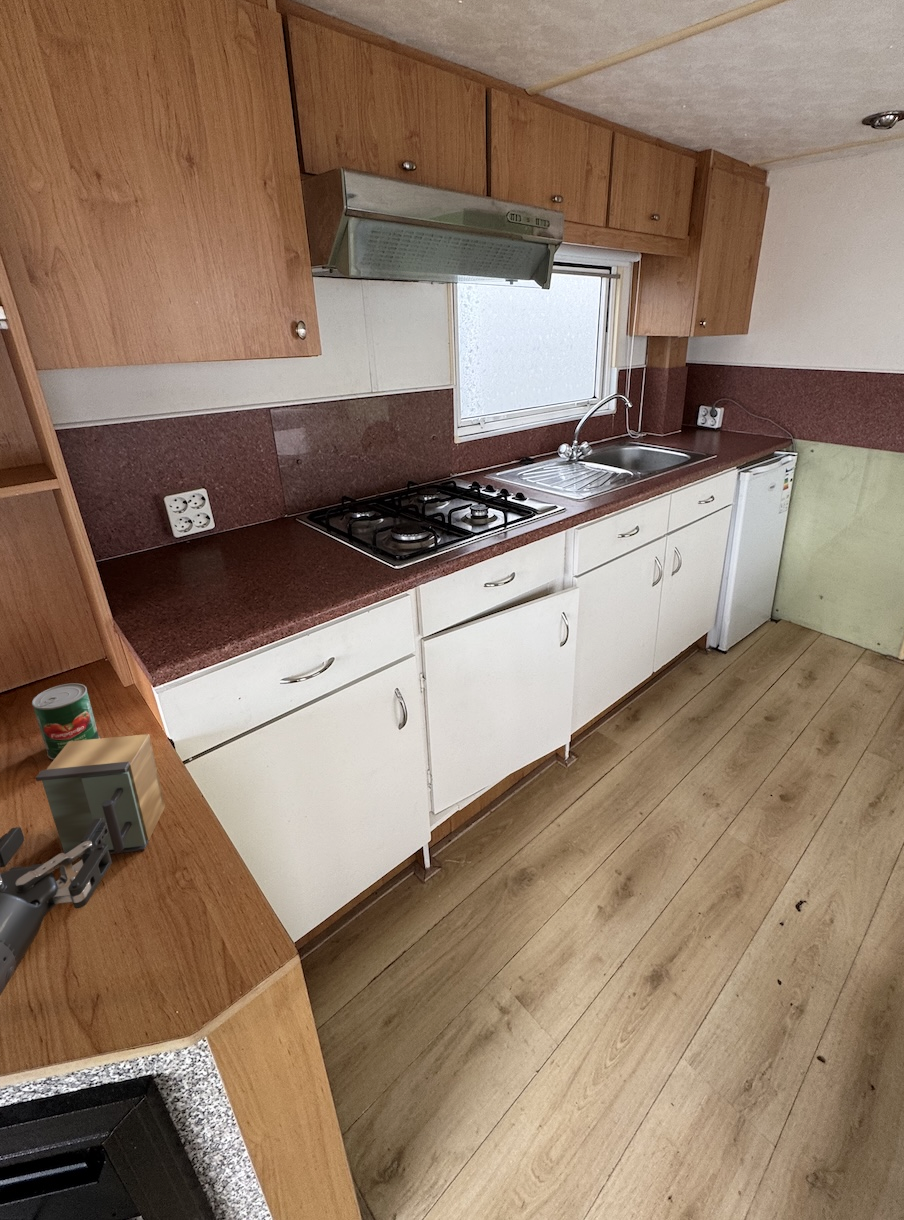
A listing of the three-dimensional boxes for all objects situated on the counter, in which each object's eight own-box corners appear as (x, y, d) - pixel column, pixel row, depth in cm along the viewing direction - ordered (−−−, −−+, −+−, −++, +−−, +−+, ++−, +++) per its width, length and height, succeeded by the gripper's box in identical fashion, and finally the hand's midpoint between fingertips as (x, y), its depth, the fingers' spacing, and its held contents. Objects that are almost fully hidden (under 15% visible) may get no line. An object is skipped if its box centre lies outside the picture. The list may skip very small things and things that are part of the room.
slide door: (87, 875, 80) (65, 800, 75) (102, 848, 84) (82, 775, 80) (133, 869, 81) (114, 795, 76) (146, 843, 85) (128, 771, 81)
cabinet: (60, 860, 83) (35, 777, 78) (89, 815, 91) (67, 737, 86) (144, 850, 85) (124, 768, 80) (165, 806, 93) (148, 730, 88)
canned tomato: (83, 728, 111) (70, 678, 107) (109, 740, 108) (96, 689, 104) (37, 752, 104) (21, 700, 100) (63, 766, 101) (48, 712, 97)
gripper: (44, 923, 52) (121, 794, 67) (-144, 950, 49) (-19, 810, 64) (64, 982, 54) (134, 844, 69) (-114, 1011, 51) (-1, 861, 67)
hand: (60, 828), depth 67 cm, fingers open, 8 cm apart
